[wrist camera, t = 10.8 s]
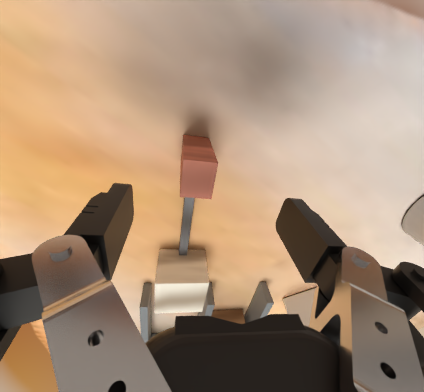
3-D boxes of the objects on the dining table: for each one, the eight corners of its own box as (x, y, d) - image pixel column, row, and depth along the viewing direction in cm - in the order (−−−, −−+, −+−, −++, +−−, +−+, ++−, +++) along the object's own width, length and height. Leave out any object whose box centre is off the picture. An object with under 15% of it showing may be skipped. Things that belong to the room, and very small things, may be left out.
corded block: (163, 132, 18) (155, 156, 13) (227, 140, 19) (242, 165, 14) (158, 278, 29) (153, 322, 24) (199, 277, 30) (202, 320, 25)
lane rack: (144, 283, 29) (117, 428, 17) (265, 281, 33) (312, 401, 21) (145, 336, 37) (128, 459, 26) (242, 330, 41) (266, 436, 29)
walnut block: (209, 310, 35) (212, 342, 31) (241, 308, 36) (249, 339, 32) (205, 327, 39) (208, 358, 34) (235, 325, 40) (241, 355, 35)
